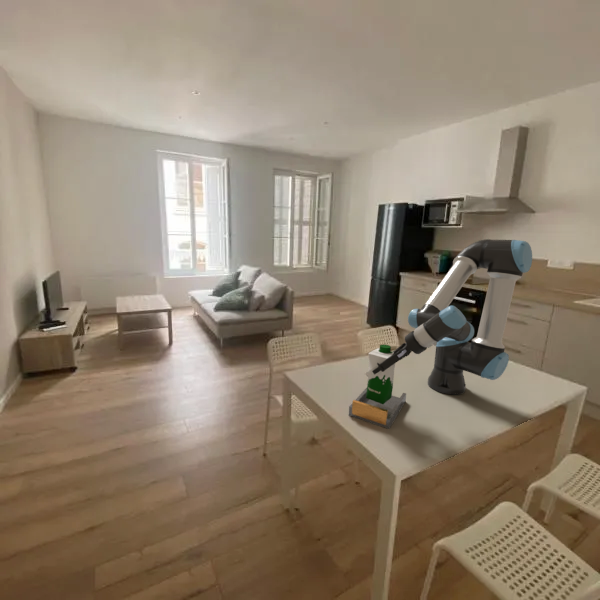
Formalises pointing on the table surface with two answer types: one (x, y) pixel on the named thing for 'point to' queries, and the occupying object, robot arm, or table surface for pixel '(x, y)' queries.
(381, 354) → the soya milk
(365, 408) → the rail channel
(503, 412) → the table surface
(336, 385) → the table surface
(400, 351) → the robot arm
